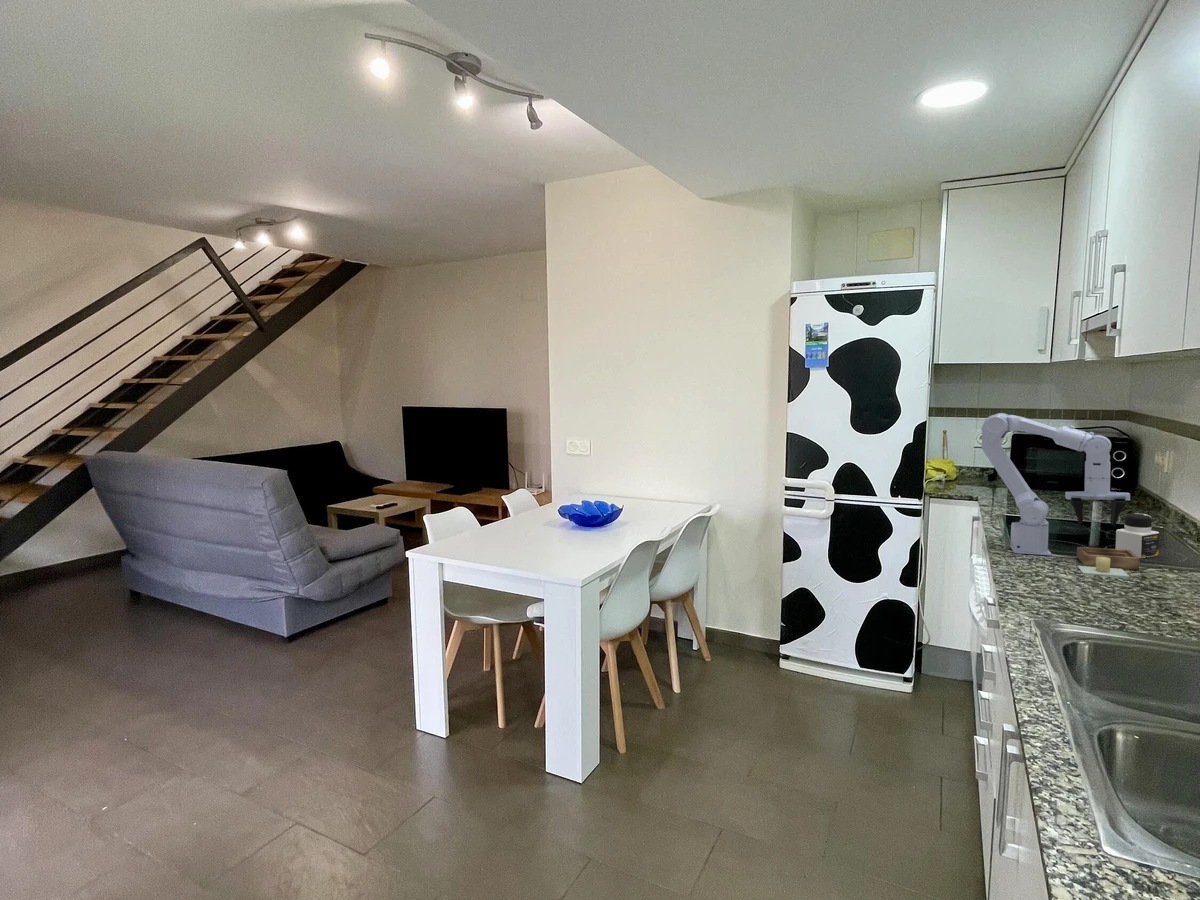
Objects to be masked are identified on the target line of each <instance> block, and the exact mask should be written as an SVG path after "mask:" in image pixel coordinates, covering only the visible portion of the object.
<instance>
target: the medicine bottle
mask: <svg viewBox="0 0 1200 900" xmlns="http://www.w3.org/2000/svg"><path fill="white" fill-rule="evenodd" d="M1152 522H1153V518H1152V516H1151V515H1148V514H1145V513H1137V512H1132V513H1127V514H1125V515H1124V528H1120V529H1119V528H1118V529H1116V531H1115V532H1116V533H1115V549H1121V550H1130V551H1131V552H1132V553H1133V554H1135V555H1136V556H1137V557H1138V558H1140V559H1147V558H1152V557H1156V556H1159V547H1160V546H1159V545H1160V532H1159V531H1156V530H1152ZM1146 557H1147V558H1146Z"/></svg>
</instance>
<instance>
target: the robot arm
mask: <svg viewBox="0 0 1200 900" xmlns="http://www.w3.org/2000/svg"><path fill="white" fill-rule="evenodd" d="M1075 427H1076V426H1075V425H1074V426H1073V425H1069V426H1067V425H1063V426H1061V427H1054V426H1051V425H1048V424H1045V423H1043V422H1039V421H1036V420H1032V419H1031V418H1030V419H1029V418H1027V417H1023V416H1019V415H1014V414H1008V413H1004V412H999V413H995V414H992V415H990V416H987V417H986V419H985V420H984V422H983V424H982V426H981V428H980V429H981V444H980V445H981V449H982V451H983V453H984V455H985V456H986V457H987V458H988V461H990V463H991V464H992V466H993V467H994V469H995V470H996V472H997V474H998V475H999V477H1000V478H1001V479H1002V481H1003V483H1004V484H1005V486H1006V487H1007V489H1008V490H1009V492H1010V493H1011V494H1012V496H1013V497H1014V500H1015V504H1016V507H1017V508H1018V510H1019V517H1020V520H1019V521H1018V522H1011V526H1010V548H1011V550H1012V553H1014V554H1022V555H1023V554H1027V555H1036V556H1037V555H1039V556H1040V555H1041V556H1052V555H1053V553H1052V552H1051V551H1050V550H1049V526H1050V525H1049V521H1048V520H1047V519H1046V517H1047V516H1048V515H1049V512H1050V508H1049V505H1048V504H1047V503H1046V502H1045V501H1044V500H1042V499H1040V498H1039V496H1038V495H1037V494H1036V493H1035V492H1034V491H1033V490H1032V489H1031V488H1030V486H1029V485H1028V482H1026V481H1025V479H1024V477H1023V476H1022V474H1021V472H1020V471H1019V470H1018V468H1017V467H1016V466H1015V464H1014V462H1013V461H1012V460H1011V458H1010V456H1009V455H1008V454H1007V452H1006V451H1005V449H1004V448H1003V446H1002V445H1003V442H1004V439H1005V437H1006V435H1007V434H1008V433H1009V432H1010V433H1011V432H1012V433H1013V432H1020V431H1024V432H1029V433H1032V434H1035V435H1039V436H1043V437H1047V438H1049V439H1052V440H1053V441H1054V443H1055V444H1056V445H1058V446H1062V447H1065V448H1068V449H1071V450H1075V451H1076V452H1084V453H1085V455H1086V456H1085V459H1086V460H1085V461H1084V491H1083V490H1082V491H1065V495H1064V496H1065V500H1069V502H1070V504H1071V506H1072V507H1073V510H1074V512H1075V516H1076V520H1077V524H1078V525H1083V522H1084V521H1083V518H1084V517H1083V510H1084V509H1083V508H1084V502H1083V500H1104V501H1106V500H1109V501H1110V525H1112V526H1116V525H1117V522H1118V519H1119V516H1120V514H1121V512H1122V510H1124V508H1125V507H1126V505H1127V501H1131V493H1129V492H1117V491H1111V465H1112V464H1111V461H1110V460H1111V455H1110V452H1111V449H1112V442H1111V440H1110V439H1109V438H1108V437H1106V436H1104V435H1103V434H1095V432H1092V431H1090V432H1086V431H1084V430H1080V429H1076V428H1075Z"/></svg>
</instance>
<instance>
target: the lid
mask: <svg viewBox="0 0 1200 900" xmlns="http://www.w3.org/2000/svg"><path fill="white" fill-rule="evenodd" d="M1078 568H1079V569H1080V570H1079V569H1078ZM1077 569H1078V570H1079V571H1080V572H1081V573H1083V574H1082V575H1084V574H1088V575H1087V576H1097V575H1099V576H1098V577H1100V576H1101V577H1109V576H1111V577H1112V578H1122V579H1123V578H1124V579H1130V575H1129V574H1128V573H1127V572H1126V571H1125V569H1117V568H1110V558H1107V557H1096V567H1090V566H1084V565H1077ZM1111 577H1110V578H1111Z"/></svg>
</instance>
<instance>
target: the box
mask: <svg viewBox="0 0 1200 900" xmlns="http://www.w3.org/2000/svg"><path fill="white" fill-rule="evenodd" d="M1096 557H1107V558H1110V568H1119V569H1123V570H1128V569H1131V570H1132V569H1133V570H1132V571H1140V559H1141V558H1138V557H1137V556H1136V555H1135V554H1133V553H1132V552H1131V551H1130V550H1121V549H1116V548H1101V547H1089V546H1088V547H1087V546H1086V547H1083V546H1077V547H1076V559H1077V558H1078V559H1079V560H1080V561H1081V562H1082V563H1081V562H1080V561H1079V560H1078V559H1077V560H1078V561H1079V562H1080V563H1081V565H1082V566H1093V567H1096ZM1131 570H1130V571H1131Z"/></svg>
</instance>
